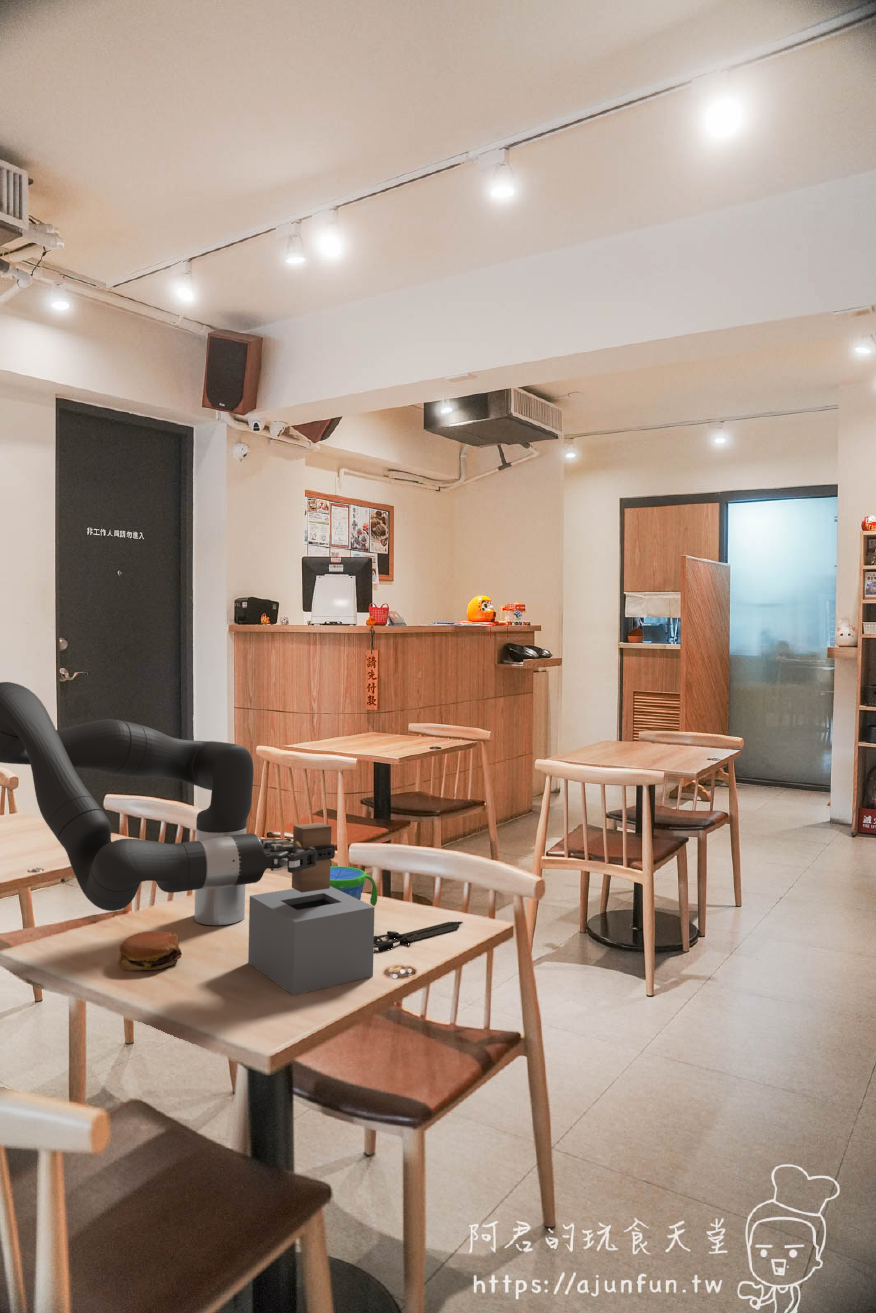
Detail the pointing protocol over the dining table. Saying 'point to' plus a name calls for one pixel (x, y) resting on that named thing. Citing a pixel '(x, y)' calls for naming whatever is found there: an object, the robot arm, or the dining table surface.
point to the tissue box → (311, 938)
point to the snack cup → (351, 882)
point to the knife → (412, 935)
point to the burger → (149, 951)
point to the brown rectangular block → (320, 873)
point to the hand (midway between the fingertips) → (327, 848)
